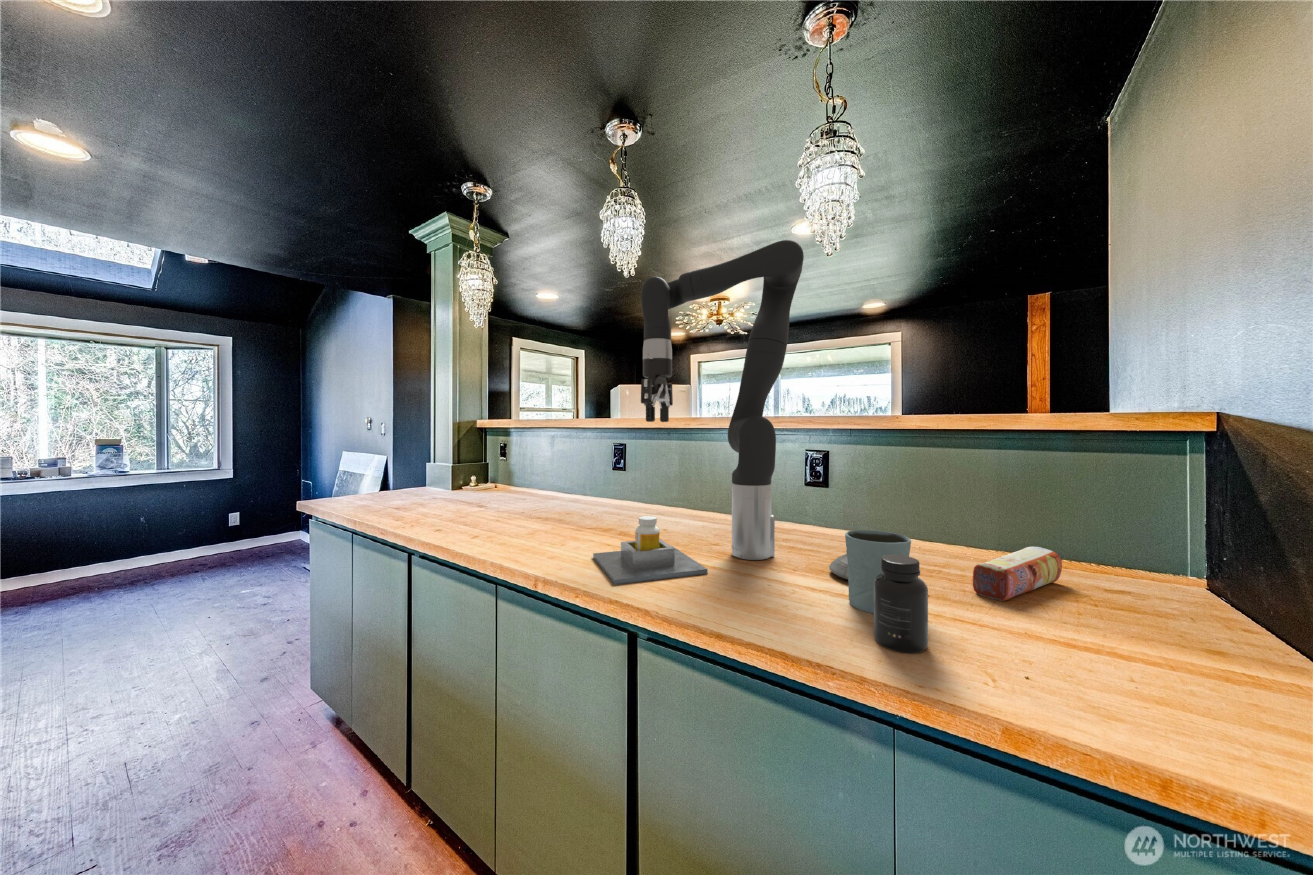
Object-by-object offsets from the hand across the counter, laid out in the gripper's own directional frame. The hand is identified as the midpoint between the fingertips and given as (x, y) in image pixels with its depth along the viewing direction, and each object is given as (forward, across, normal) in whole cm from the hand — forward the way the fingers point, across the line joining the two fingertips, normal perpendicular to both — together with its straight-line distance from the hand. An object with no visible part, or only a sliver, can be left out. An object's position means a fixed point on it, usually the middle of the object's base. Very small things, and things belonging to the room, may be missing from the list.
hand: (657, 421), depth 118 cm
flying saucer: (+33, +4, +50) cm, 59 cm away
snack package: (+33, 0, +75) cm, 82 cm away
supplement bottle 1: (+31, +16, +5) cm, 36 cm away
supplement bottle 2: (+32, +34, +54) cm, 71 cm away
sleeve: (+32, +16, +5) cm, 36 cm away
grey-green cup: (+32, +20, +51) cm, 63 cm away
